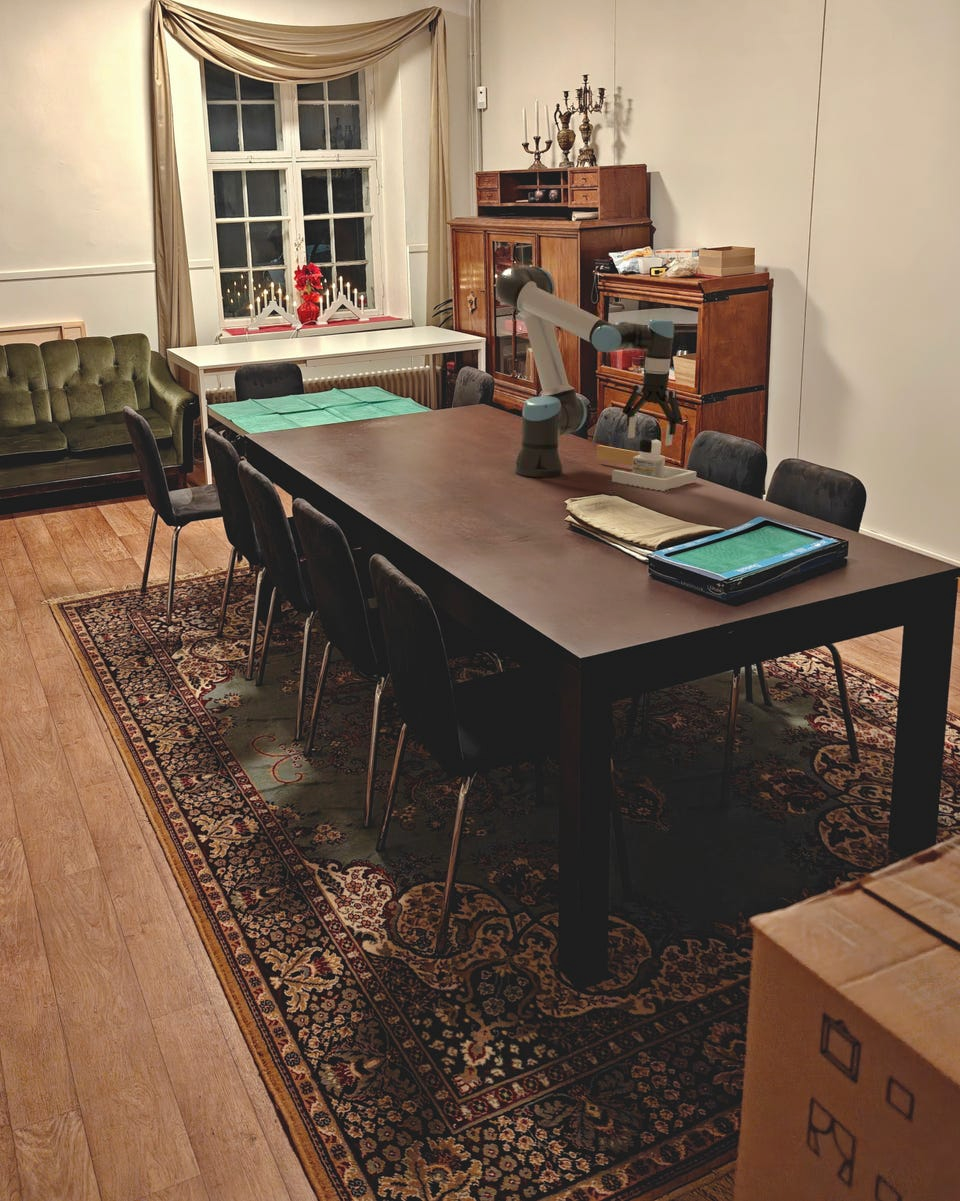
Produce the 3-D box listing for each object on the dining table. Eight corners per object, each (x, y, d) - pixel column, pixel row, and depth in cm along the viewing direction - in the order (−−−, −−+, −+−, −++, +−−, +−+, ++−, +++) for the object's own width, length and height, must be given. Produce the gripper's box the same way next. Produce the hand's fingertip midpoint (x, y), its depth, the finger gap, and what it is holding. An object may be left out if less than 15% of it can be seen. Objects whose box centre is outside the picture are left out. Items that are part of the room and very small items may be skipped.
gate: (595, 459, 379) (596, 442, 377) (599, 458, 381) (600, 441, 379) (645, 468, 367) (646, 451, 365) (649, 467, 369) (650, 450, 367)
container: (631, 481, 355) (634, 439, 351) (640, 477, 361) (643, 436, 357) (654, 484, 351) (657, 442, 347) (663, 480, 357) (667, 439, 353)
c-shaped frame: (663, 491, 342) (664, 480, 341) (611, 481, 353) (612, 470, 352) (695, 482, 356) (696, 471, 355) (645, 473, 367) (646, 462, 366)
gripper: (699, 376, 341) (690, 446, 348) (629, 365, 356) (622, 433, 363) (685, 378, 335) (677, 449, 342) (615, 367, 350) (609, 435, 357)
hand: (649, 441), depth 352 cm, fingers open, 13 cm apart
